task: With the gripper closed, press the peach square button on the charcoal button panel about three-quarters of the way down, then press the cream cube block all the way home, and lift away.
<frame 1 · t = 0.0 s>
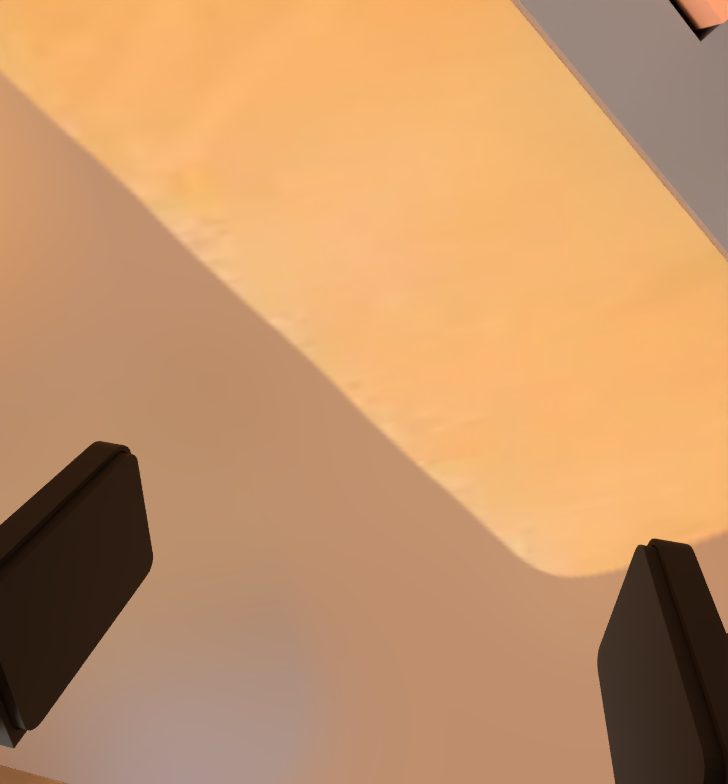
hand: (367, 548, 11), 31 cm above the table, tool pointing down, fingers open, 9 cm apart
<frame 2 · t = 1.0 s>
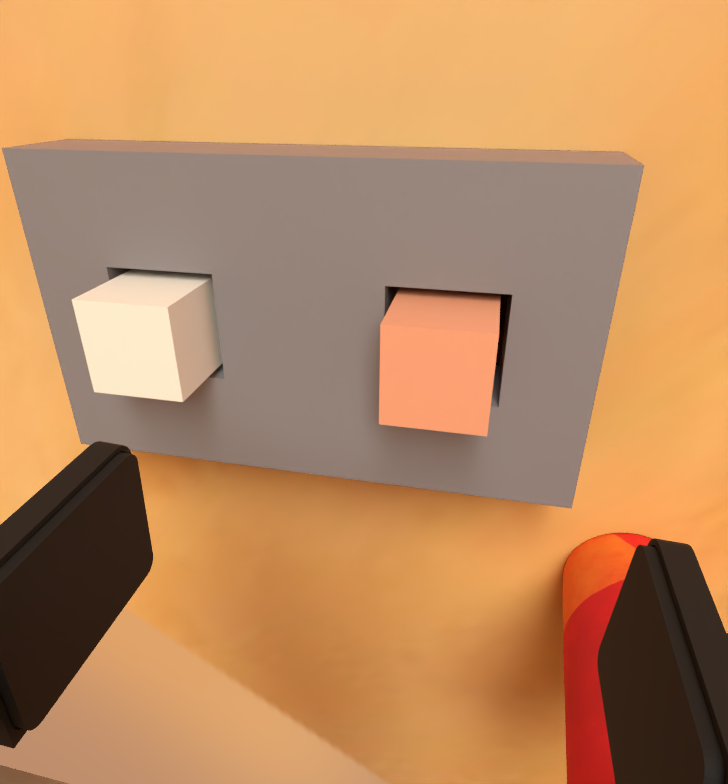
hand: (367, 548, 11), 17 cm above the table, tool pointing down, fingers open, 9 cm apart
button panel: (324, 304, 28), on the table
peach square button: (441, 357, 23), point 5 cm above the table, slide at 0.0 cm
cream cube block: (156, 332, 25), point 5 cm above the table, slide at 0.0 cm
coffee cup: (620, 571, 32), on the table
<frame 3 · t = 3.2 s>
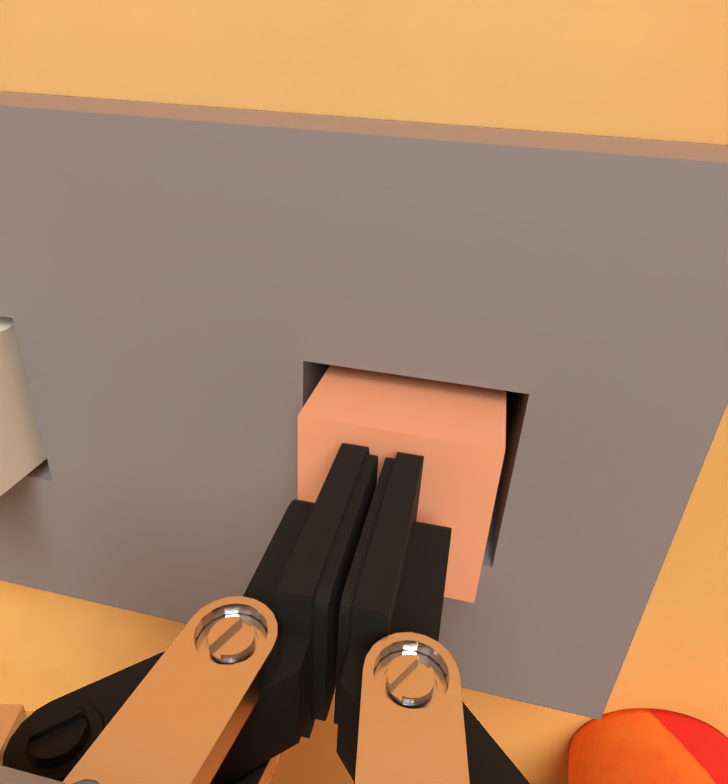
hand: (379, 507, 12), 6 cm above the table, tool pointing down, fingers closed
button panel: (229, 361, 18), on the table
peach square button: (406, 457, 14), point 3 cm above the table, slide at 1.4 cm
coffee cup: (650, 754, 22), on the table
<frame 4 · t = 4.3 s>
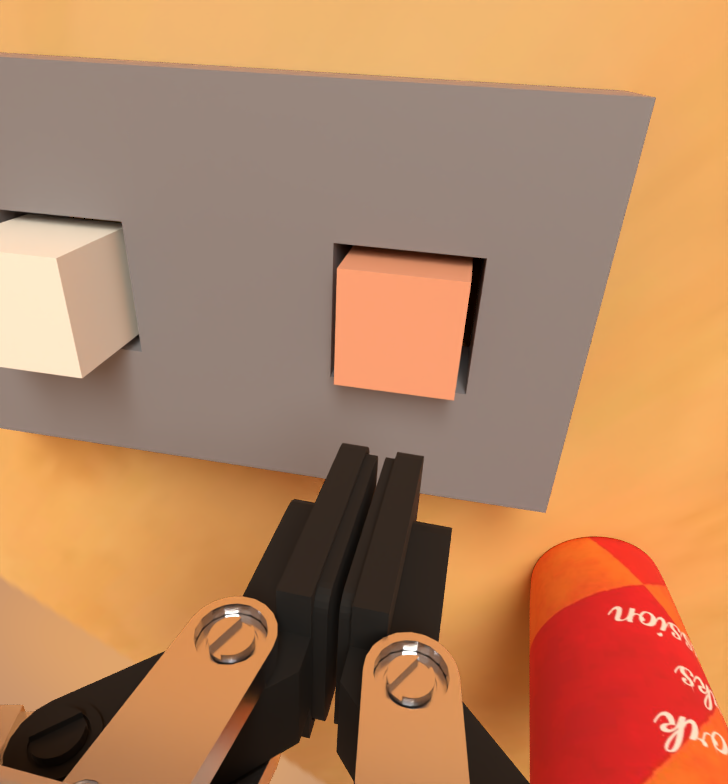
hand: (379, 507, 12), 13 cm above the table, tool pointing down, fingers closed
button panel: (267, 266, 24), on the table
peach square button: (405, 312, 20), point 3 cm above the table, slide at 1.8 cm
cream cube block: (53, 291, 20), point 5 cm above the table, slide at 0.0 cm
coffee cup: (592, 578, 29), on the table
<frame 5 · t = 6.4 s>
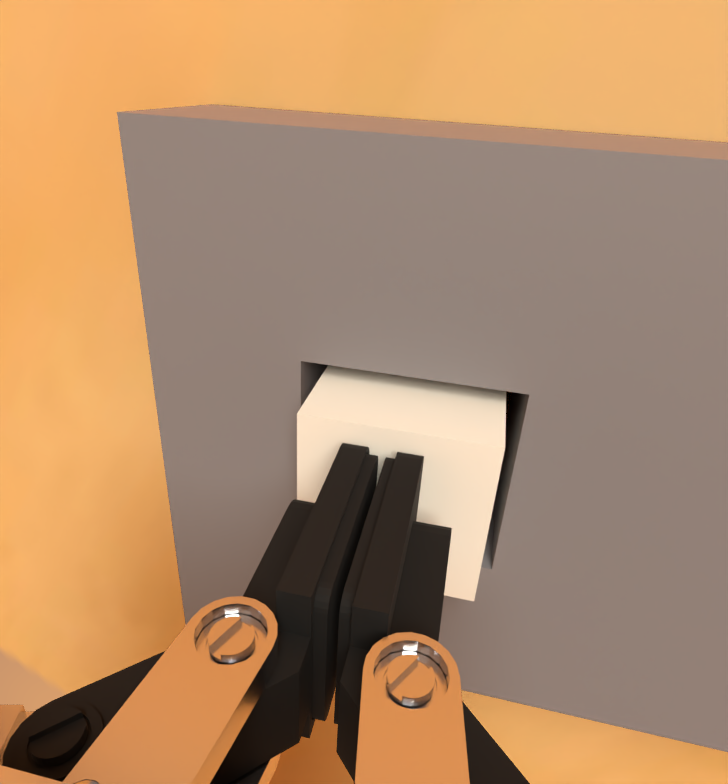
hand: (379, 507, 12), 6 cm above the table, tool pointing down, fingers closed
button panel: (645, 424, 16), on the table
cream cube block: (405, 456, 14), point 3 cm above the table, slide at 1.5 cm, touching gripper
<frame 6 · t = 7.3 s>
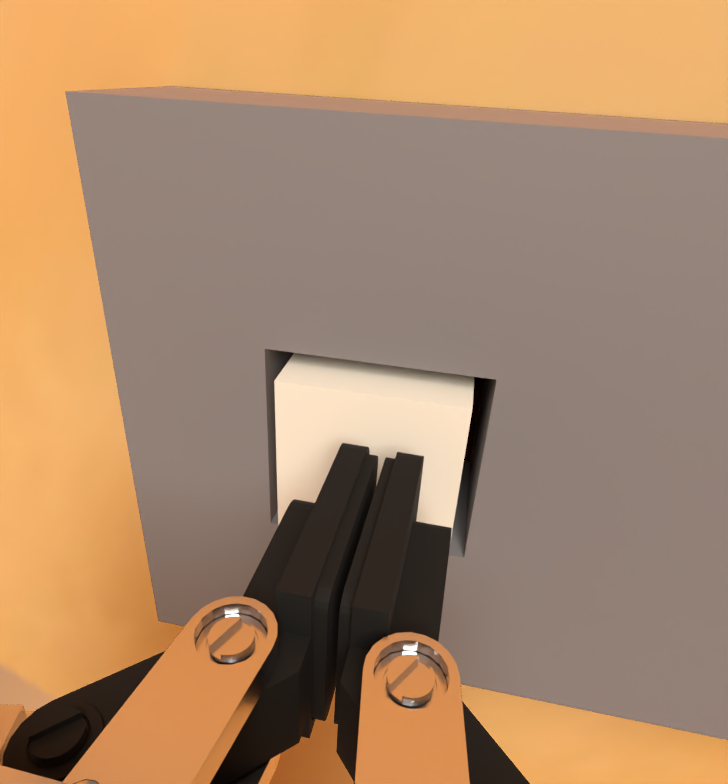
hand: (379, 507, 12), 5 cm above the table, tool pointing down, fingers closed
button panel: (618, 409, 16), on the table
cream cube block: (381, 424, 14), point 2 cm above the table, slide at 2.4 cm
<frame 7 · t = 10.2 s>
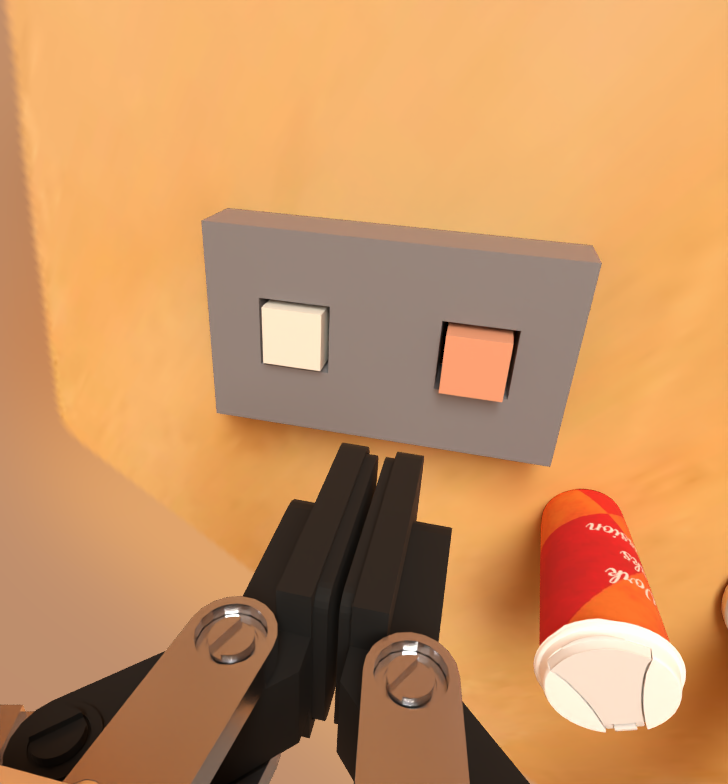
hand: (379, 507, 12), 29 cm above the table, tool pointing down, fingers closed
button panel: (392, 325, 42), on the table
peach square button: (476, 355, 38), point 3 cm above the table, slide at 1.8 cm
cream cube block: (300, 327, 40), point 2 cm above the table, slide at 2.4 cm
coffee cup: (580, 517, 46), on the table
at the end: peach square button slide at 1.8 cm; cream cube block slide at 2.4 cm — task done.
